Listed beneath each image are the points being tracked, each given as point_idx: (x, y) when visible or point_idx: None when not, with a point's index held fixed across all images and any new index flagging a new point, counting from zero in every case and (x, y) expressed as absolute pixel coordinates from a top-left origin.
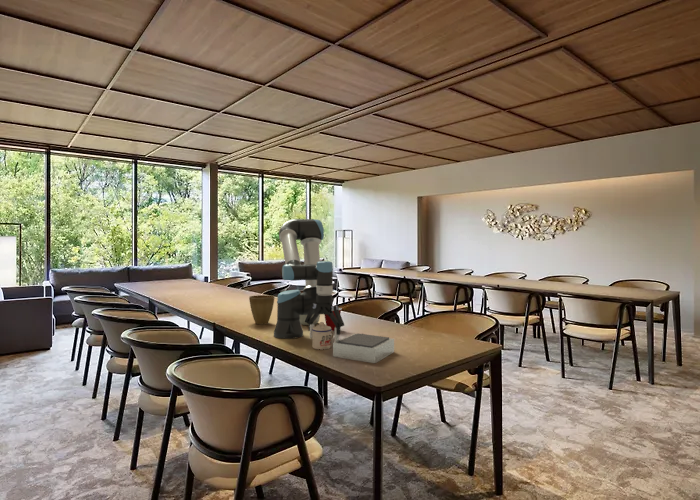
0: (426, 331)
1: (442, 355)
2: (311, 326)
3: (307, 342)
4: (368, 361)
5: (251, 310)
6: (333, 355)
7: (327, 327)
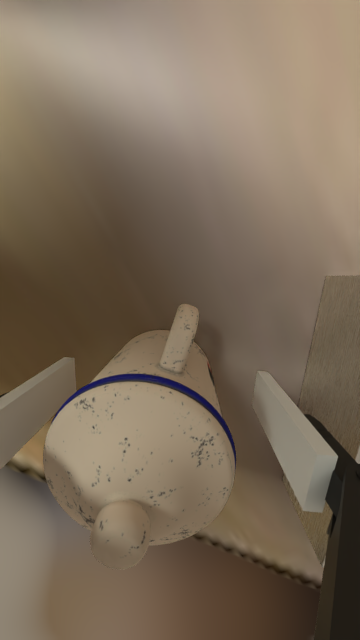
0: None
1: None
2: (6, 457)
3: (39, 319)
4: None
5: None
6: (287, 485)
7: (205, 492)
